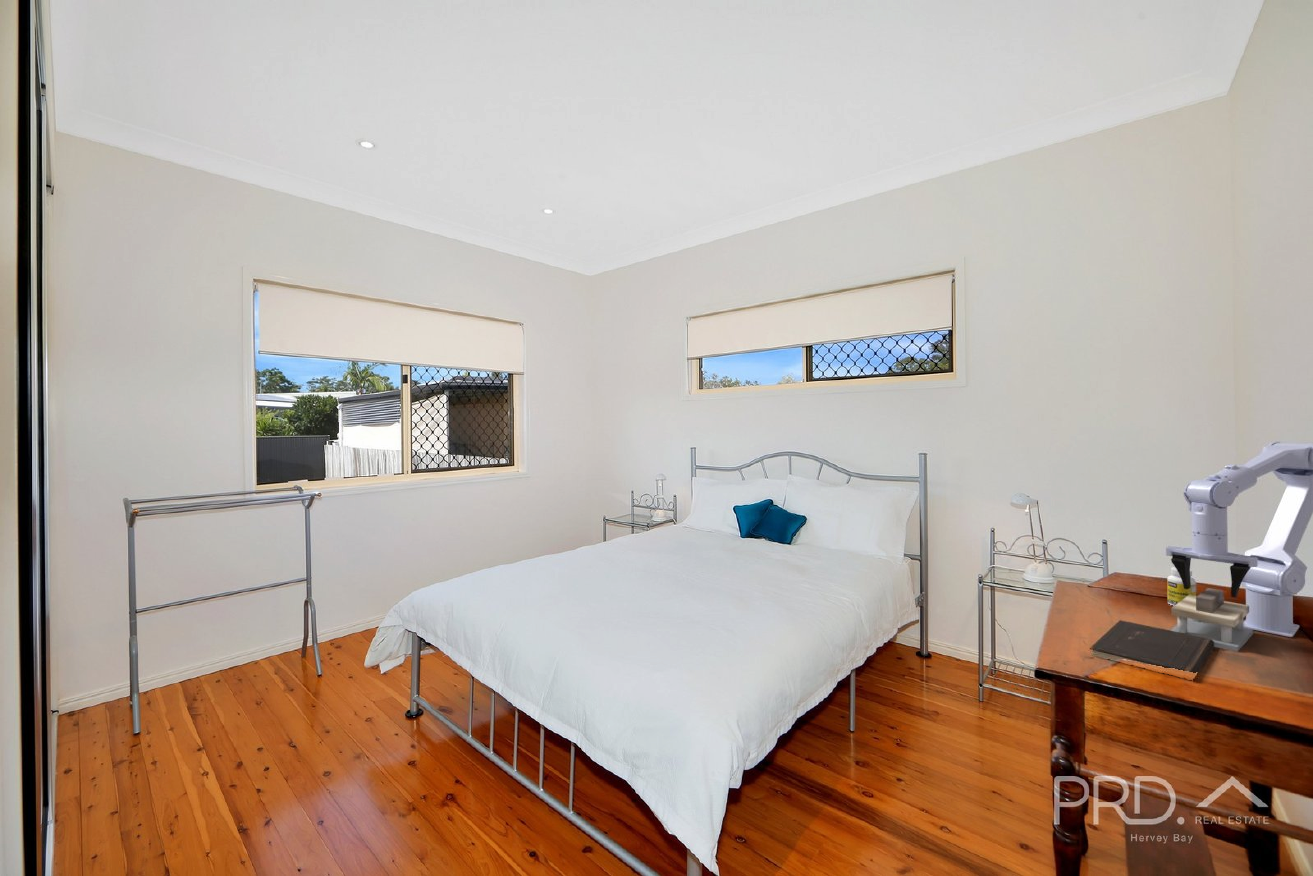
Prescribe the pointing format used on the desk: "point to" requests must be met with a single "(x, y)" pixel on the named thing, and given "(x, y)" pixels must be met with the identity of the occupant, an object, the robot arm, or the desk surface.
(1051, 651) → the desk surface
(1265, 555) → the robot arm
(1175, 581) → the supplement bottle
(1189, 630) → the peg stand
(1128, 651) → the hardcover book
